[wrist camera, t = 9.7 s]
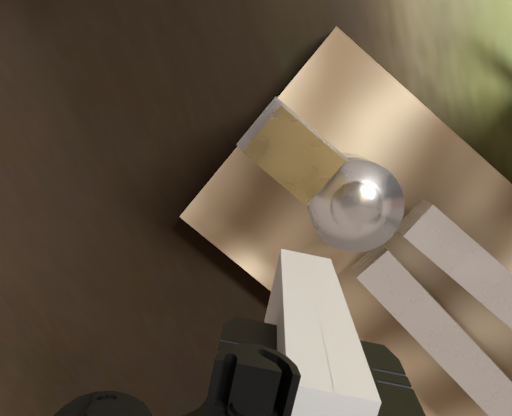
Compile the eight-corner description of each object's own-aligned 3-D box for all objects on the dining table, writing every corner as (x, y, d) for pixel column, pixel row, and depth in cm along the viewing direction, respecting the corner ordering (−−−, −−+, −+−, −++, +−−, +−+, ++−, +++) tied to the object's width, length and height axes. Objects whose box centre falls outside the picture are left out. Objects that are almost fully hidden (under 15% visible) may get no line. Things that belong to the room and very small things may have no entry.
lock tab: (245, 148, 24) (241, 151, 22) (280, 105, 24) (280, 104, 21) (303, 197, 24) (306, 205, 22) (339, 156, 24) (345, 161, 22)
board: (183, 211, 31) (179, 216, 30) (333, 30, 29) (336, 26, 27) (512, 481, 34) (523, 497, 33) (677, 339, 31) (697, 350, 30)
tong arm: (350, 266, 29) (357, 280, 27) (380, 241, 29) (389, 253, 26) (551, 475, 31) (574, 506, 29) (581, 455, 31) (607, 484, 28)
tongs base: (233, 151, 29) (225, 157, 24) (289, 83, 28) (290, 77, 24) (578, 442, 32) (627, 495, 27) (640, 389, 31) (700, 436, 26)
